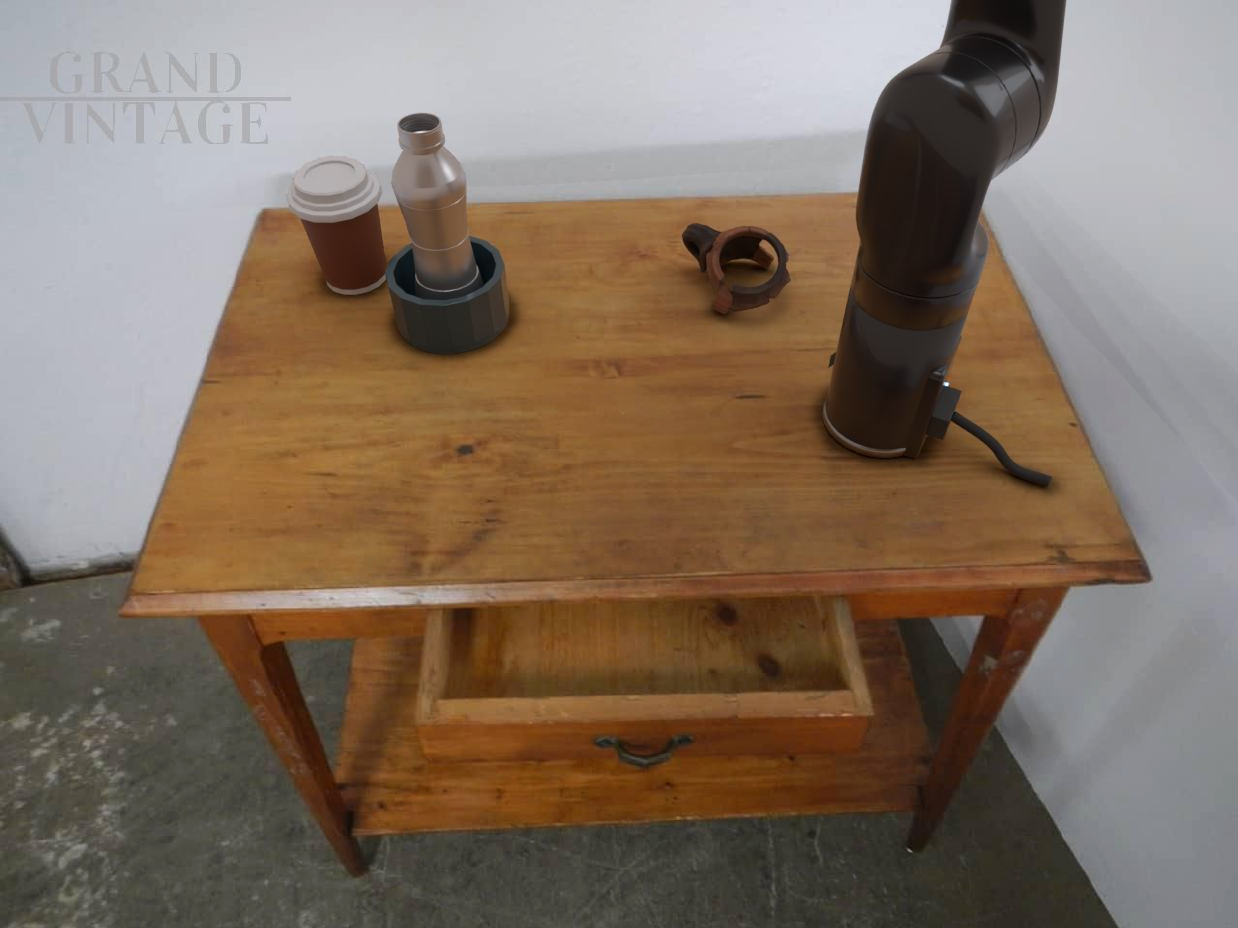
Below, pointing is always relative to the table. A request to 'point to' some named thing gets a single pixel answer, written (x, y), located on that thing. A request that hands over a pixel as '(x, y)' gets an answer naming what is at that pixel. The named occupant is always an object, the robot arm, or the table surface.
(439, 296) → the tan bottle
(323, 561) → the table surface
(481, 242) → the bowl
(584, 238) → the table surface
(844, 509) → the table surface
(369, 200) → the coffee cup
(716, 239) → the brown ring bracket
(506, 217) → the table surface
